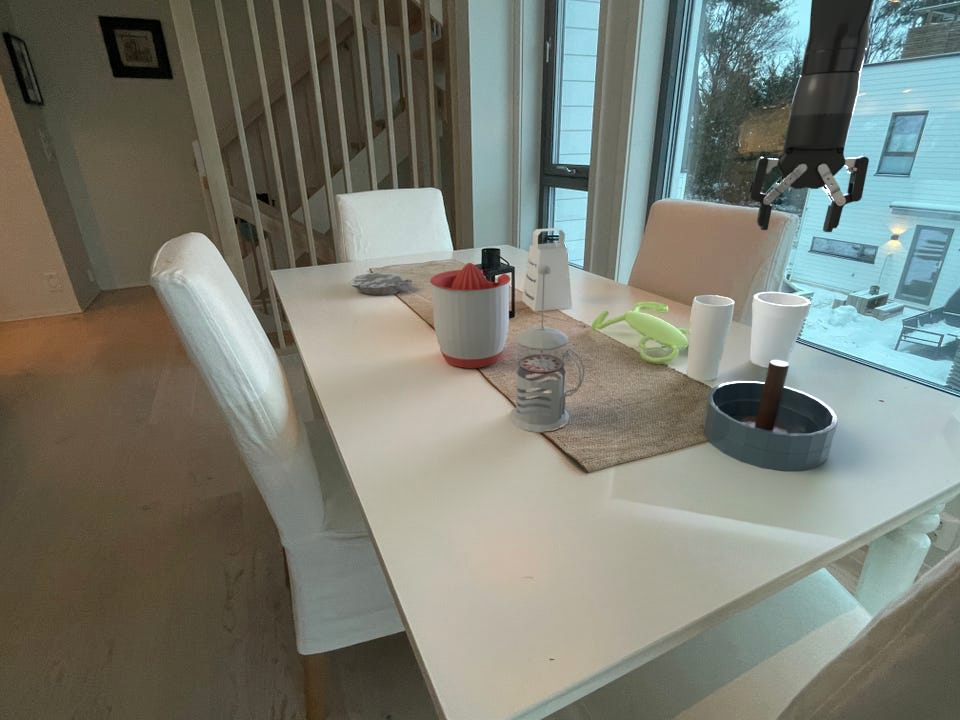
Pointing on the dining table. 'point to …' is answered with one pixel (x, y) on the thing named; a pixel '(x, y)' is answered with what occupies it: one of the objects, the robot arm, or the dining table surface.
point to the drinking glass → (708, 335)
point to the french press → (547, 406)
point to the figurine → (650, 329)
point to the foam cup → (776, 325)
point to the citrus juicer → (470, 316)
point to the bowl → (764, 448)
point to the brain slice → (380, 283)
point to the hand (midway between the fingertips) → (795, 230)
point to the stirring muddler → (771, 399)
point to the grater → (547, 275)
